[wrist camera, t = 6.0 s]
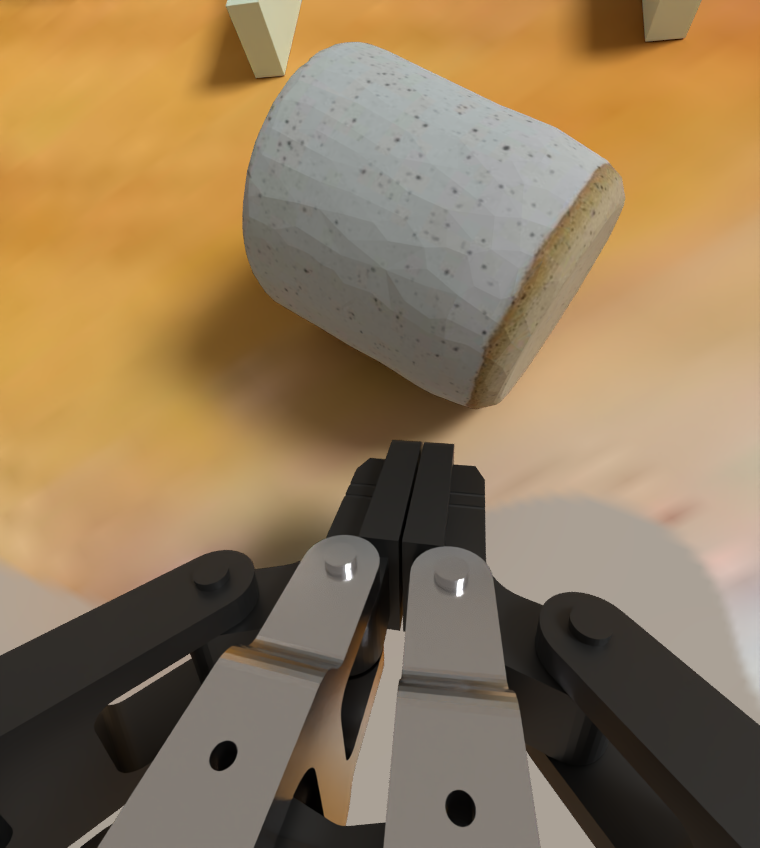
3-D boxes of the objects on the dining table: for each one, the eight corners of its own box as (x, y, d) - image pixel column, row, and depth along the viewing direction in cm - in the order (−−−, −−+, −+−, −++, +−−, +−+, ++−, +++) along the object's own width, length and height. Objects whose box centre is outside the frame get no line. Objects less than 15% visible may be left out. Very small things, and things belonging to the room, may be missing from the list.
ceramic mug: (482, 455, 15) (511, 345, 7) (294, 342, 17) (179, 177, 10) (633, 220, 16) (775, -52, 9) (444, 149, 19) (440, -111, 12)
